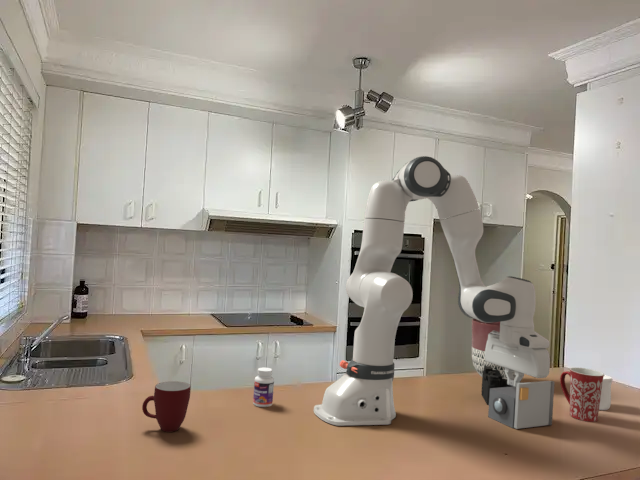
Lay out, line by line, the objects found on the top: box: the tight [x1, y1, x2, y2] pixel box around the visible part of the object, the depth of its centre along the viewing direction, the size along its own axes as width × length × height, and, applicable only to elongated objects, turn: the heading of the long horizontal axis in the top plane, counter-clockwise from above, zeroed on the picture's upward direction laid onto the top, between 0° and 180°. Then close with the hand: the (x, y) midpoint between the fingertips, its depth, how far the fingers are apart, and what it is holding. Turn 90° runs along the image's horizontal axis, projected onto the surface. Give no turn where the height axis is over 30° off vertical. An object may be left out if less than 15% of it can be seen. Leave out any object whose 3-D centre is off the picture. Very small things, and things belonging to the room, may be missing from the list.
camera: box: [480, 366, 513, 406], centre depth 160 cm, size 14×11×10 cm
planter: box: [471, 318, 516, 379], centre depth 184 cm, size 20×20×21 cm
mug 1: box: [141, 380, 192, 433], centre depth 119 cm, size 11×8×10 cm
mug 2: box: [559, 367, 605, 423], centre depth 150 cm, size 13×9×14 cm
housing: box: [487, 387, 516, 429], centre depth 141 cm, size 13×9×9 cm
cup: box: [599, 374, 613, 411], centre depth 161 cm, size 10×10×10 cm
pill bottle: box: [252, 367, 275, 408], centre depth 141 cm, size 5×5×10 cm
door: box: [513, 380, 555, 430], centre depth 137 cm, size 13×2×12 cm, turn 115°
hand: (513, 386), depth 141 cm, fingers closed
